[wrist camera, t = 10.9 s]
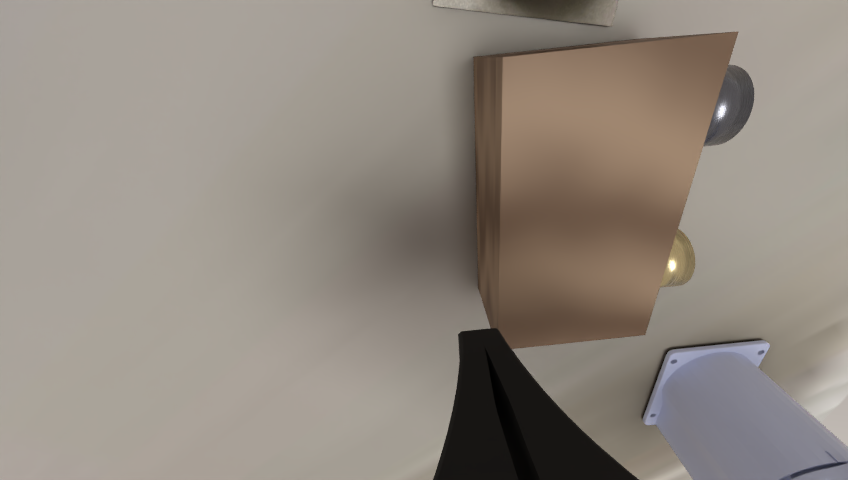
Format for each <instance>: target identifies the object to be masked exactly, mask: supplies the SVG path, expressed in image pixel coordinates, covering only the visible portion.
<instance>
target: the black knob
mask: <svg viewBox="0 0 848 480" xmlns="http://www.w3.org/2000/svg"><path fill="white" fill-rule="evenodd" d="M753 102H754V87H753V83H752V80H751V78H750V76H749V75H748V73H747V72H746V71H745V70H744V69H742V68H740V67H738V66H735V65H728V67H727V70H726V74H725V77H724V80H723V83H722V87H721V90H720V93H719V96H718V100H717V103H716V106H715V109H714V113H713V116H712V119H711V122H710V126H709V129H708V132H707V135H706V139H705V142H704V145H703V146H713V145H719V144H722V143H725V142H727V141H729V140H730V139H732V138H733V137H734V136H735V135H736V134H738V133H739V131H740V130H741V129H742V128H743V126H744V125H745V124H746V122H747V120H748V118H749V116H750V113H751V111H752V107H753Z"/></svg>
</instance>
